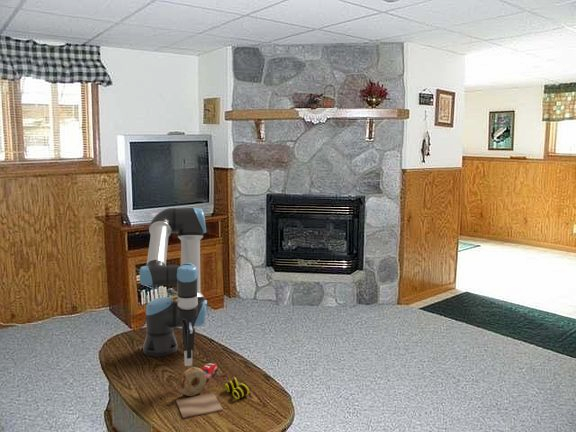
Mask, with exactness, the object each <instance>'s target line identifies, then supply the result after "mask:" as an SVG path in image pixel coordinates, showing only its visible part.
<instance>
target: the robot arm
mask: <svg viewBox="0 0 576 432" xmlns="http://www.w3.org/2000/svg"><path fill="white" fill-rule="evenodd" d="M148 232H149V234H150V239H149V245H148V252H147V259H146V260H147V261H146V265H144V266H141V267H140V268H139V283H140V285H142V286H149V287H150V286H151V287H152V286H172V285H173V286H174V285H175V286H177V298H176V299H175V300H174V299H173V298H172V297H168V296H165V297H163V296H162V297H158V298H154V299H153V300H150V301H149V302H148V303H147V304H146V306H145V308H146V310H145V316H146V317H145V319H146V336H145V339H144V342H143V344H142V345H143V346H142V351H143V354H144V355H146V356H148V357H155V358H156V357H159V358H161V357H166V356H170V355H172V354H174V353H175V352H177V351H178V341H177V339H176V336H175V333H174V328H175V329H176V328H181V330H182V331H181V332H182V344H183V347H184V348H183V351H184V354H183V355H184V367H189V366H193V351H194V349H195V347H194V345H195V333H196V327H203V326H204V325H205V321H206V314H207V305H208V300H207V299H205V296H204V295H203V294H202V292H201V240H202V239H203V238H204V234H206V233H207V227H206V218H205V213H204V210H203V209H202V208H200V207H169V208H168V207H167V208H165V209H163V210H161V211H159V212H158V213H157V214H156V215H155V216H154V217H153V218H152V219H151V221H150V224H149V229H148ZM171 234H177V238H178V239H179V240H180V256H181V257H180V258H181V259H180V263H181V264H180V265H178V264H177V265H167V259H168V257H167V255H168V246H169V245H168V244H169V237H170V236H171Z"/></svg>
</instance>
